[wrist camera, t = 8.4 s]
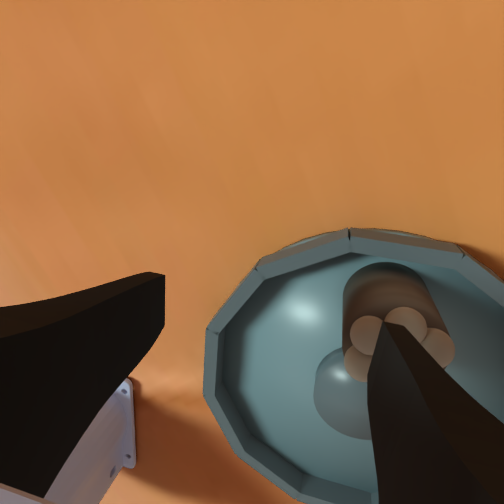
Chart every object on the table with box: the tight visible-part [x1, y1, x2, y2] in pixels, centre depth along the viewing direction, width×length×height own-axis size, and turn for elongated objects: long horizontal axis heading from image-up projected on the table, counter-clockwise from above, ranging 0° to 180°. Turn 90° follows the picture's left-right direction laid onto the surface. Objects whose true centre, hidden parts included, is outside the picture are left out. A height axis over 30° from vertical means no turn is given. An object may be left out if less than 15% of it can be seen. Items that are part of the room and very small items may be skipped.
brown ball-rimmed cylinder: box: [342, 262, 455, 382], centre depth 17 cm, size 4×4×6 cm
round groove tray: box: [203, 228, 504, 504], centre depth 21 cm, size 19×19×2 cm
